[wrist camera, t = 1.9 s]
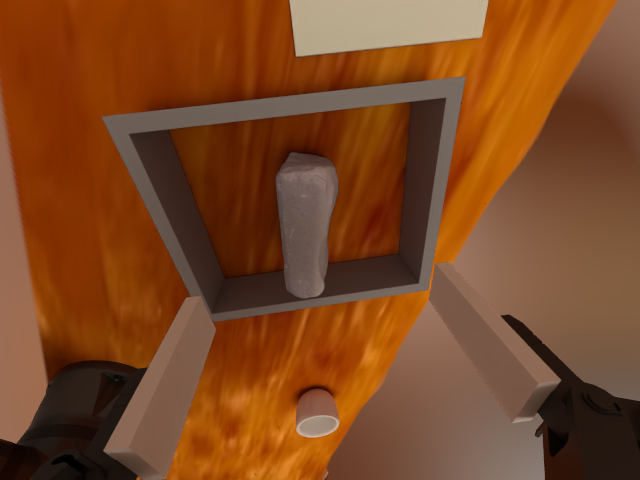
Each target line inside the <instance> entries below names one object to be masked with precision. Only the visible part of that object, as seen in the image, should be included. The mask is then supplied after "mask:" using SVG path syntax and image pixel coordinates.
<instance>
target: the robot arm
mask: <svg viewBox="0 0 640 480" xmlns="http://www.w3.org/2000/svg"><path fill="white" fill-rule="evenodd" d="M429 300H430V302H431V303H432V305H433V306H434V308H435V309H436V311H437V312H438V314H439V315H440V316H441V318H442V320H443V321H444V323H445V324H446V326H447V327H448V329H449V330H450V331H451V333H452V334H453V335H454V337H455V339H456V340H457V342H458V343H459V345H460V346H461V348H462V349H463V351H464V352H465V354H466V355H467V357H468V358H469V360H470V361H471V363H472V364H473V366H474V367H475V369H476V370H477V372H478V373H479V375H480V376H481V378H482V379H483V381H484V382H485V384H486V385H487V386H488V388H489V389H490V391H491V392H492V394H493V395H494V397H495V398H496V400H497V401H498V403H499V404H500V406H501V407H502V409H503V410H504V412H505V413H506V415H507V416H508V418H509V419H510V420H511V422H512V423H516V422H523V421H529V420H532V419H533V417H534V416H535V414H536V413H537V412H538V413H539V415H540V416H541V418H542V419H543V420H544V421H543V423H542V424H541V425H540V426H539V428H538V429H537V430H536V433H535V436H536V437H540V435H541V434H542V433H543V449H544V467H545V480H640V401H635V400H629V399H624V398H618V397H614V396H612V395H611V394H609V393H608V392H606V391H605V390H603V389H601V388H599V387H597V386H595V385H592V384H588V383H584V382H583V381H582V380H581V379H580V378H579V377H577V376H576V375H575V374H574V373H573V372H572V371H571V370H570V369H569V368H568V367H567V366H566V365H565V364H564V363H563V362H562V361H561V360H560V359H559V358H558V357H557V356H556V355H555V354H554V353H553V352H552V351H551V350H550V349H549V348H548V347H547V346H546V345H545V344H542V341H541V340H540V339H538V338H537V337H536V336H535V335H533V333H532V332H531V331H530V330H529V329H528V328H527V327H526V326H525V325H524V324H523V323H522V322H520V321H519V320H517V319H516V318H514V317H512V316H511V315H502V316H500V315H499V314H498V313H497V312H496V311H495V310H494V309H493V308H492V307H491V306H490V305H489V304H488V303H487V302H486V301H485V299H484V298H483V297H482V296H481V295H480V294H479V293H478V292H477V291H476V290H475V289H474V288H473V287H472V286H471V285H470V284H469V283H468V282H467V280H465V278H464V277H463V276H462V275H461V274H460V273H459V272H458V271H457V270H456V269H455V268H454V267H453V266H452V265H451V264H450V263H449V262H445V263H437V264H435V269H434V275H433V280H432V286H431V291H430V296H429ZM215 332H216V328H215V326H214V324H213V322H212V320H211V317H210V315H209V313H208V311H207V309H206V307H205V305H204V303H203V301H202V298H201V296H195V297H188V298H186V299H185V301H184V302H183V304H182V306H181V308H180V310H179V312H178V313H177V315H176V317H175V319H174V321H173V323H172V325H171V326H170V328H169V330H168V332H167V334H166V336H165V338H164V339H163V341H162V343H161V345H160V347H159V349H158V350H157V352H156V354H155V356H154V358H153V360H152V362H151V363H150V365H149V367H147V368H140V369H137V368H135V367H132V366H129V365H126V364H122V363H117V362H111V361H95V360H94V361H82V362H77V363H73V364H70V365H67V366H65V367H63V368H62V369H60V370H59V371H58V372H57V373H56V374H55V375H54V377H53V378H52V379H51V380H50V382H49V384H48V387H47V389H46V395H45V397H44V399H43V401H42V402H41V404H40V406H39V408H38V410H37V412H36V414H35V416H34V418H33V421H32V423H31V425H30V427H29V428H28V430H27V431H26V432H25V433H24V435H23V436H22V437H21V439H20V440H19V441H18V442H17V444H15V443H12V442H9V441H6V440H3V439H0V480H136V478H137V476H138V477H139V478H140V479H142V480H159V479H166V478H167V475H168V472H169V469H170V466H171V463H172V460H173V457H174V454H175V451H176V448H177V445H178V442H179V439H180V436H181V433H182V430H183V427H184V424H185V421H186V418H187V415H188V412H189V409H190V406H191V403H192V400H193V397H194V394H195V391H196V388H197V385H198V382H199V379H200V376H201V373H202V370H203V367H204V364H205V361H206V358H207V355H208V352H209V349H210V346H211V343H212V340H213V337H214V335H215Z"/></svg>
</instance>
